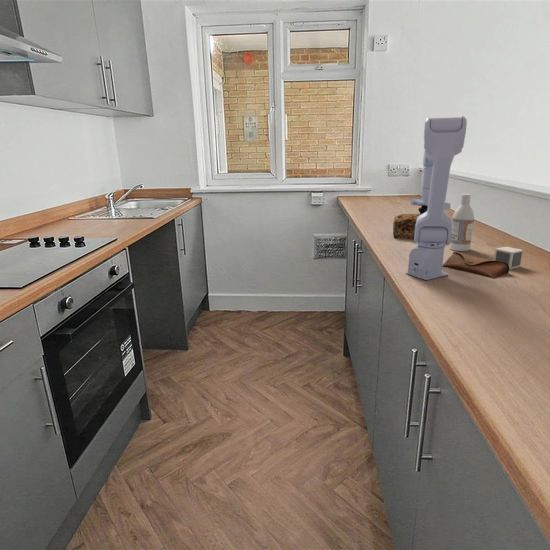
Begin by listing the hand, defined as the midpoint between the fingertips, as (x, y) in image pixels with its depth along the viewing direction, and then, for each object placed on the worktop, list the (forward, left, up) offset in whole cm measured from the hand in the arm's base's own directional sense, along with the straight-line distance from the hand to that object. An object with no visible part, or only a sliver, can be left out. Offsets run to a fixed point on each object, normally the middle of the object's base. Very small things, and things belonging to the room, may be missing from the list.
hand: (427, 228), depth 137 cm
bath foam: (+19, +1, -10) cm, 22 cm away
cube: (+13, -21, -10) cm, 27 cm away
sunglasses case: (+1, -18, -11) cm, 21 cm away
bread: (+22, +24, -10) cm, 34 cm away
